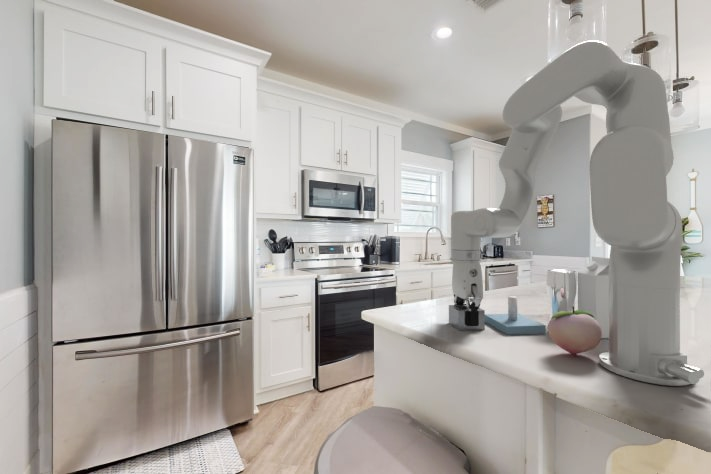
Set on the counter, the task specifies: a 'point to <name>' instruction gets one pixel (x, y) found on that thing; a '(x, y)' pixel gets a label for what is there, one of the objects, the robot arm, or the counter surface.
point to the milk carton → (595, 291)
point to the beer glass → (561, 290)
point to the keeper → (514, 321)
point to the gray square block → (464, 318)
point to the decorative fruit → (575, 331)
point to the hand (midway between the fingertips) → (466, 321)
